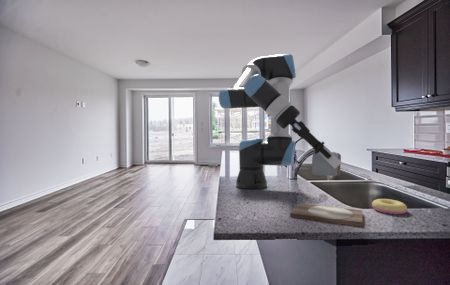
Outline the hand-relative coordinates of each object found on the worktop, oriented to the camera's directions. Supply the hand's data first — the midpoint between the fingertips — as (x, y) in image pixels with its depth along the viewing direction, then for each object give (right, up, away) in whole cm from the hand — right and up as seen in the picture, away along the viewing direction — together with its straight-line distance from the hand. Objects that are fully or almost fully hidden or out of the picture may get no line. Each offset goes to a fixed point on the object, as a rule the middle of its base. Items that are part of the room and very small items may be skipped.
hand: (336, 163), depth 78 cm
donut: (+20, -17, +7) cm, 27 cm away
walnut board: (-2, -17, +3) cm, 17 cm away
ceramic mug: (-3, -4, +2) cm, 5 cm away
